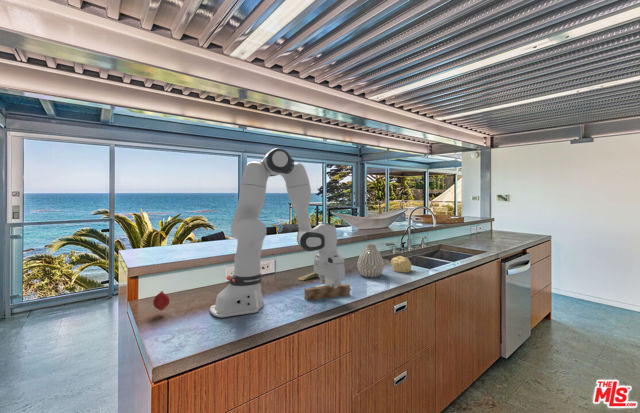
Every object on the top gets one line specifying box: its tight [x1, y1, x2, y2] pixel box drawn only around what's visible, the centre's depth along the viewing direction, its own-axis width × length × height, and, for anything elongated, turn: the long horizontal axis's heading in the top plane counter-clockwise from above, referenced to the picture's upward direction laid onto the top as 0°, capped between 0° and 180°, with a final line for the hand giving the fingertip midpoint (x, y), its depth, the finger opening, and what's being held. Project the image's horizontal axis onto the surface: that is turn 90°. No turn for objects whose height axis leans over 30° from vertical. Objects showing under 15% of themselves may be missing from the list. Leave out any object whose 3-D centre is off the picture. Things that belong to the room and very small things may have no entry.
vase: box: [356, 243, 385, 278], centre depth 178 cm, size 16×16×20 cm
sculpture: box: [390, 255, 412, 273], centre depth 189 cm, size 11×12×11 cm
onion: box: [152, 290, 170, 311], centre depth 121 cm, size 6×6×8 cm
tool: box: [297, 271, 319, 281], centre depth 173 cm, size 22×6×5 cm, turn 114°
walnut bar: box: [304, 283, 351, 301], centre depth 139 cm, size 22×3×5 cm, turn 113°
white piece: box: [313, 276, 352, 291], centre depth 152 cm, size 14×13×6 cm
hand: (328, 285), depth 140 cm, fingers open, 8 cm apart
